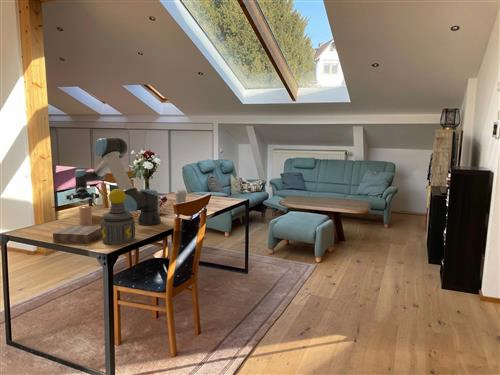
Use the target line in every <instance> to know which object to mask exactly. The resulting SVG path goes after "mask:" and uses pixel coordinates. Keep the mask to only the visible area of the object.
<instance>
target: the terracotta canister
mask: <svg viewBox="0 0 500 375" xmlns="http://www.w3.org/2000/svg"><path fill="white" fill-rule="evenodd" d="M78 209H79V210H78V212H79V226H93V220H92V219H93V216H92V206H91V205H81V206H78Z"/></svg>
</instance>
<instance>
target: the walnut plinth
mask: <svg viewBox="0 0 500 375" xmlns="http://www.w3.org/2000/svg"><path fill="white" fill-rule="evenodd" d="M99 237H100V238H101V226H96V225H95V226H94V225H92V226H80V225H75V224H74V225H73V224H70V225H68V226H65V227H64V228H61V229H59V230H57V231H55V232H53V233H52V240H53V241H52V242H54V243H67V244H68V243H70V244H89V243H91V242H92V241H94V240H96V239H98V238H99Z"/></svg>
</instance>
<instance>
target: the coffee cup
mask: <svg viewBox="0 0 500 375" xmlns="http://www.w3.org/2000/svg"><path fill="white" fill-rule="evenodd" d="M174 195H175V202H176V203H181V202H185V203H186V199H187V190H186V189H175V191H174Z"/></svg>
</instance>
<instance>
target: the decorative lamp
mask: <svg viewBox="0 0 500 375" xmlns="http://www.w3.org/2000/svg"><path fill="white" fill-rule="evenodd" d="M125 198H126V195H125V193H124V192H123V191H122V190H121V189H119V188H114V189H112V190H111V191H110V192H109V194H108V200H109V202H110V209H109V211H107V212H106V213H103V216H102V217H103V218H102V219H101V222H100V227H101V236H100V238H101V239H102V240H101V241H102V243H104V244H106V243H107V244H106V245H113V244H115V245H123V244H122V243H125V244H128V242H129V243H132V242H133V241H134V240H135V237H136V221H135V218H134V217H133V212H128V211H126V210H125V209H124V208H125V206H124V203H123V202H124V201H125Z"/></svg>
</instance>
